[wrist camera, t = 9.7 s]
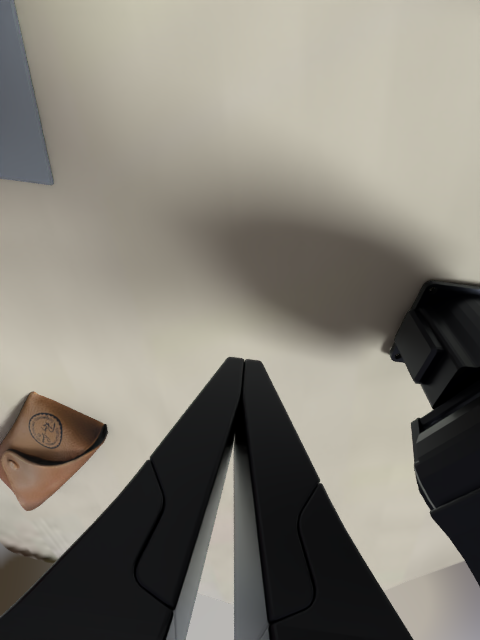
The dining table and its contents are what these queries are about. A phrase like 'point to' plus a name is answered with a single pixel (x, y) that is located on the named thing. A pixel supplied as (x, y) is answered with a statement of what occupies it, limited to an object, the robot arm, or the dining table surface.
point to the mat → (19, 108)
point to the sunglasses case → (46, 448)
